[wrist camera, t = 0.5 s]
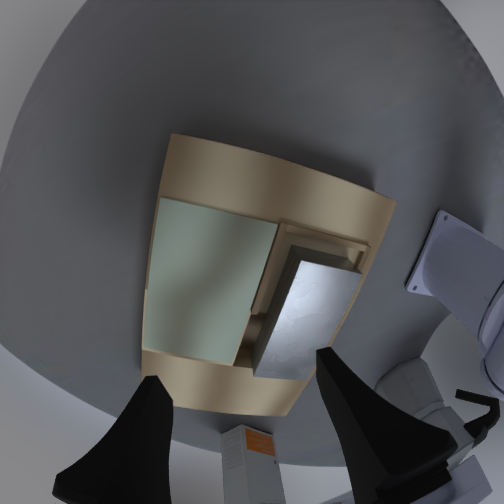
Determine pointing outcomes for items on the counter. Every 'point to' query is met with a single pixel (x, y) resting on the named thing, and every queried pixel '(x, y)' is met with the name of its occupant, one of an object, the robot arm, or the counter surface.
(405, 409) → the coffee maker
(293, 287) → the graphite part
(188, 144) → the bamboo board
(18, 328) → the counter surface
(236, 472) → the skincare box
